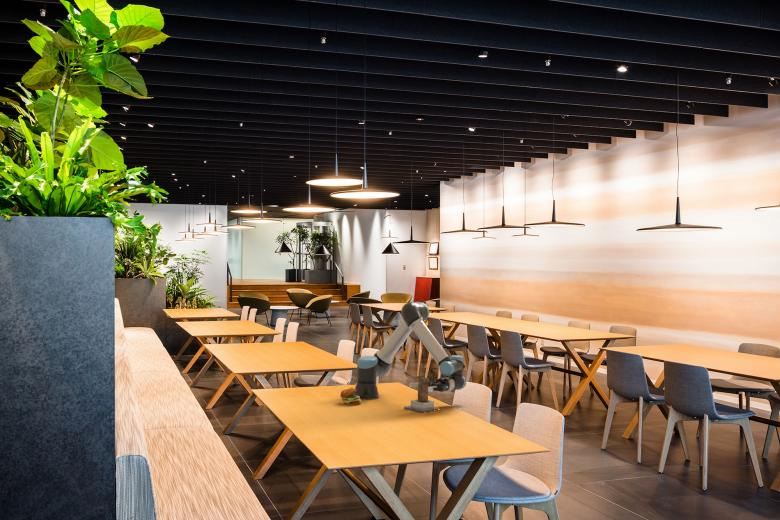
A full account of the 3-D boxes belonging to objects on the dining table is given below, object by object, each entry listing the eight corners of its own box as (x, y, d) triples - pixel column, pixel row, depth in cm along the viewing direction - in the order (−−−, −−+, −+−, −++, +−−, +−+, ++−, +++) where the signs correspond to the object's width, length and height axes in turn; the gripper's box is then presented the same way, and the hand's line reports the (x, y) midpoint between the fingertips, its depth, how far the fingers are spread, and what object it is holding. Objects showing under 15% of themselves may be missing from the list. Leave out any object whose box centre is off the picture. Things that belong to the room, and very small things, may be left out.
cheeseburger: (361, 405, 363) (357, 387, 363) (341, 409, 363) (338, 391, 363) (362, 402, 373) (358, 384, 373) (343, 405, 373) (339, 388, 374)
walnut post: (417, 407, 362) (418, 377, 362) (422, 406, 365) (423, 377, 365) (422, 408, 359) (423, 378, 359) (427, 407, 362) (428, 378, 362)
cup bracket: (404, 408, 362) (404, 400, 362) (421, 405, 372) (421, 397, 372) (423, 413, 352) (423, 404, 352) (440, 410, 362) (440, 401, 362)
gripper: (461, 394, 366) (436, 398, 351) (427, 387, 383) (402, 391, 368) (462, 380, 366) (436, 384, 351) (428, 374, 384) (402, 377, 369)
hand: (419, 387), depth 360 cm, fingers open, 13 cm apart
